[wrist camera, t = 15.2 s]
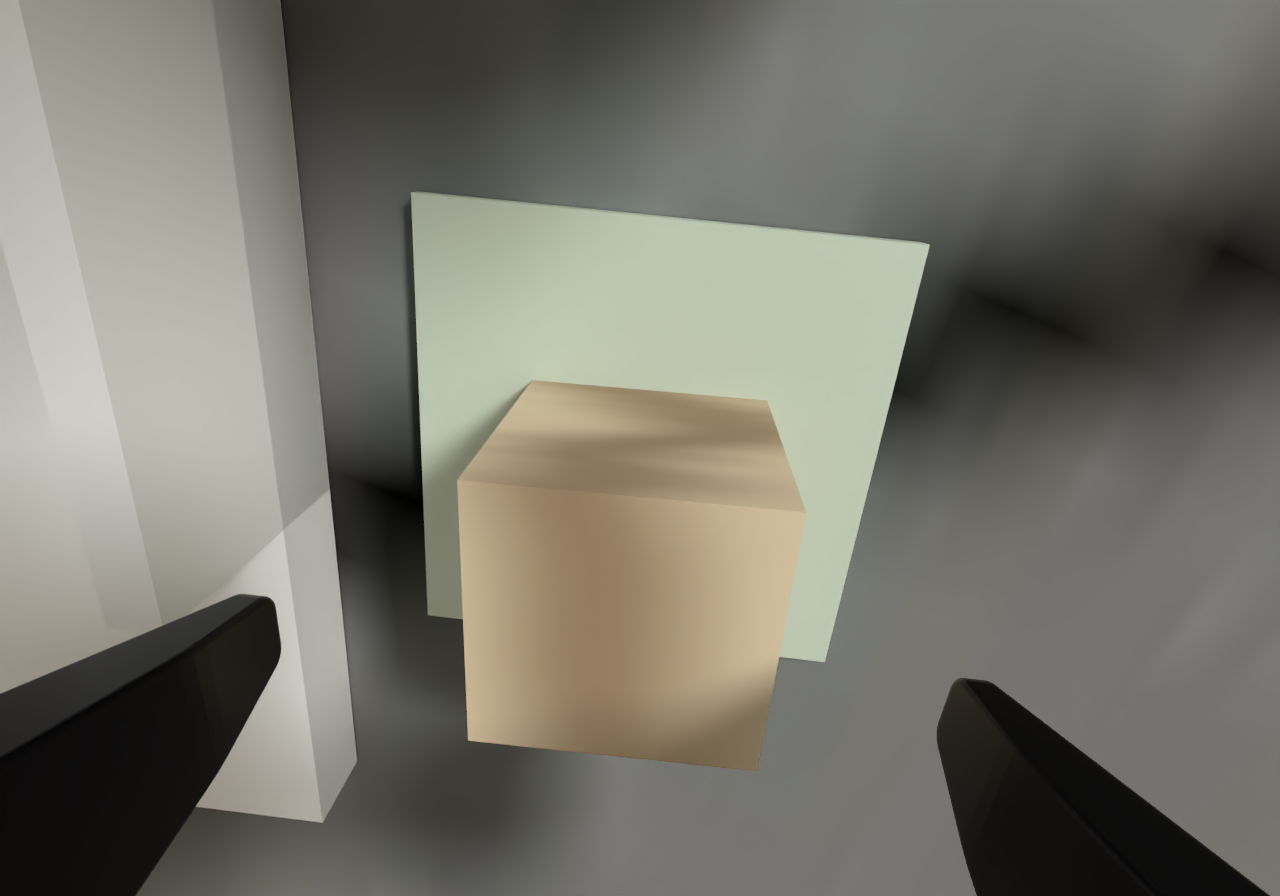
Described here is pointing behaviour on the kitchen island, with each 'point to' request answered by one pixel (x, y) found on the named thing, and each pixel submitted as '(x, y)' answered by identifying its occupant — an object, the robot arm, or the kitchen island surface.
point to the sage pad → (661, 350)
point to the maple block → (627, 574)
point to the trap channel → (165, 365)
